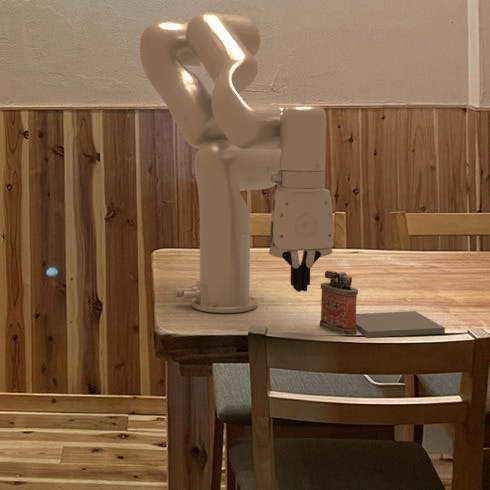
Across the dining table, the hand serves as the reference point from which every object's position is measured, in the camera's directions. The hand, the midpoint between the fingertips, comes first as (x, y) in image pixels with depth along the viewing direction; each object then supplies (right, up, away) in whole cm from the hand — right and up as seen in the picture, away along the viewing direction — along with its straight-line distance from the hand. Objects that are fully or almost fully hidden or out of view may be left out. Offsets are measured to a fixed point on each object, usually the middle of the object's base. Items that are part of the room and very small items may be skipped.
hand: (300, 289), depth 135 cm
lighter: (+7, -7, +3) cm, 10 cm away
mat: (+16, -7, +5) cm, 18 cm away
